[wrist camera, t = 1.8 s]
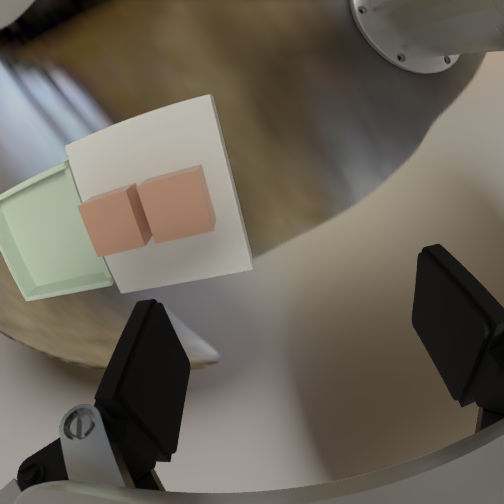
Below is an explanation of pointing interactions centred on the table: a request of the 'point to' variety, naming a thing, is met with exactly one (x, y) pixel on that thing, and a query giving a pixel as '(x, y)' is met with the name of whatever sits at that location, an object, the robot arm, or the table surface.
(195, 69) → the table surface
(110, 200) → the tile
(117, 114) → the table surface
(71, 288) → the tray
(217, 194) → the board
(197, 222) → the tile
